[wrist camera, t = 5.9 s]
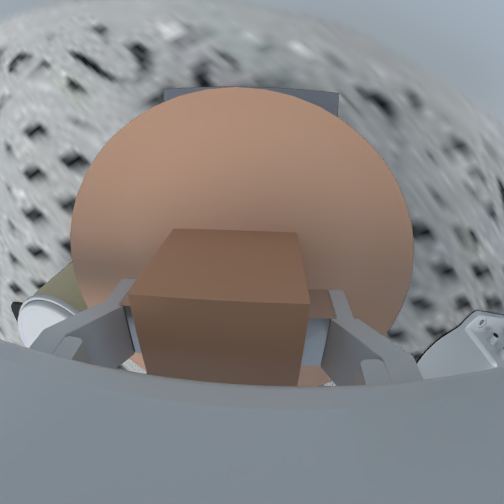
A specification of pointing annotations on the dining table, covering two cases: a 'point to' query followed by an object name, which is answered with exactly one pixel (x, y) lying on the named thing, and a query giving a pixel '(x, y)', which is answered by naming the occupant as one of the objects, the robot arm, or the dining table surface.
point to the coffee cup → (50, 305)
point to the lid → (240, 233)
